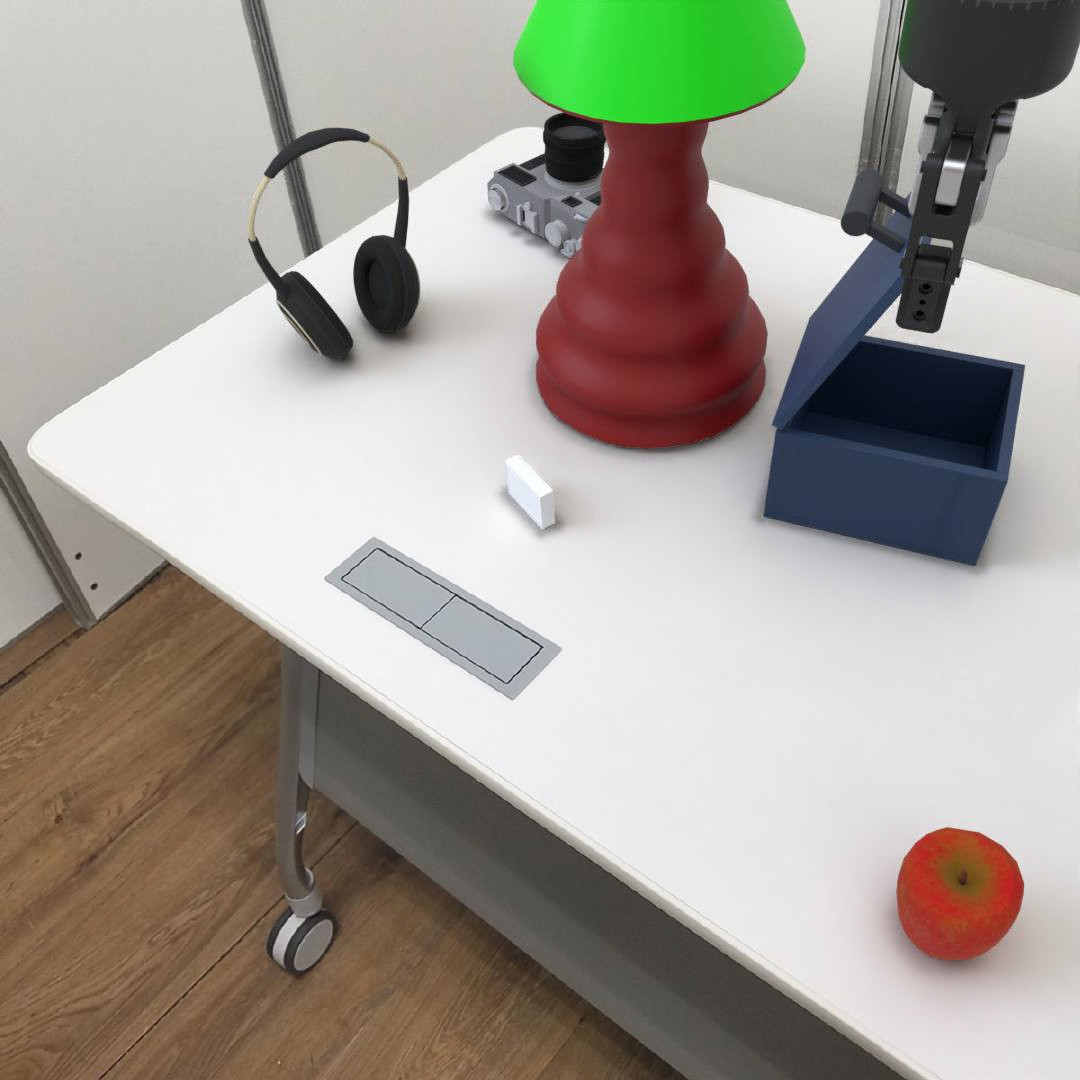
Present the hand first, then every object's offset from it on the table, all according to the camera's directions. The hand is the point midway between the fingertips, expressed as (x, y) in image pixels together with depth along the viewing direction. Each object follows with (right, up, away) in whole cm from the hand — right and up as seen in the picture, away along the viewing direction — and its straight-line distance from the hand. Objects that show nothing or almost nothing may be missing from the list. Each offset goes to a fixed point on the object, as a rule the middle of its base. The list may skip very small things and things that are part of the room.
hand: (930, 279), depth 58 cm
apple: (+2, -36, +4) cm, 36 cm away
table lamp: (-11, 0, +37) cm, 39 cm away
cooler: (+6, -9, +27) cm, 29 cm away
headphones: (-38, +5, +43) cm, 57 cm away
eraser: (-21, -12, +27) cm, 37 cm away
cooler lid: (+1, +2, +16) cm, 16 cm away
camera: (-17, +18, +53) cm, 58 cm away
